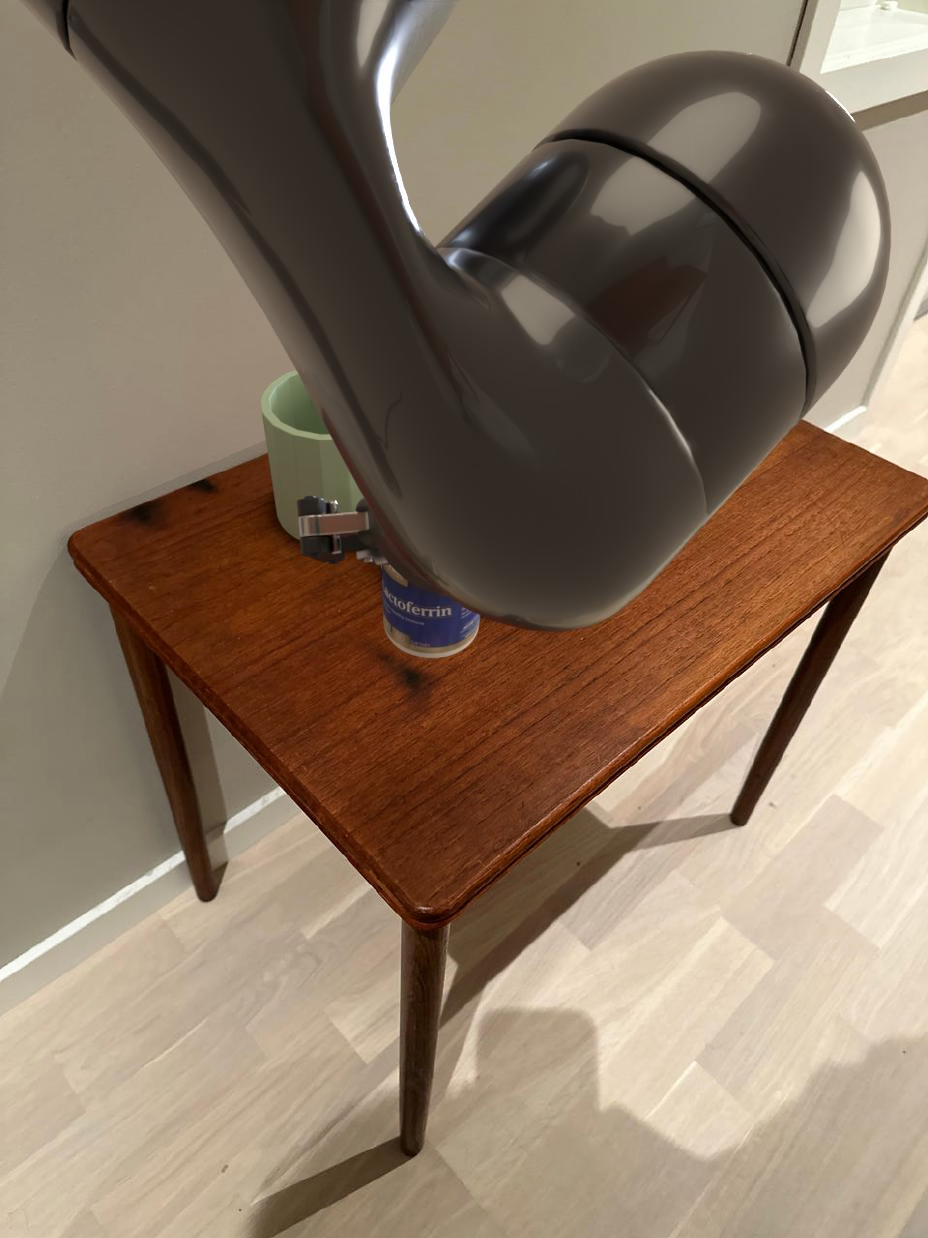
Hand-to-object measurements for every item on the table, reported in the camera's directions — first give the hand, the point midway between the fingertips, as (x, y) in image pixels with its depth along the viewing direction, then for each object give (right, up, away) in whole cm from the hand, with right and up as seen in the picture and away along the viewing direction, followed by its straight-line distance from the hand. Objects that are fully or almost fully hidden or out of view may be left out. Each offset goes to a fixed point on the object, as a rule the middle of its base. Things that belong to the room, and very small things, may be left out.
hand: (428, 539), depth 49 cm
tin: (-9, +6, +33) cm, 35 cm away
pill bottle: (0, -5, +3) cm, 6 cm away
